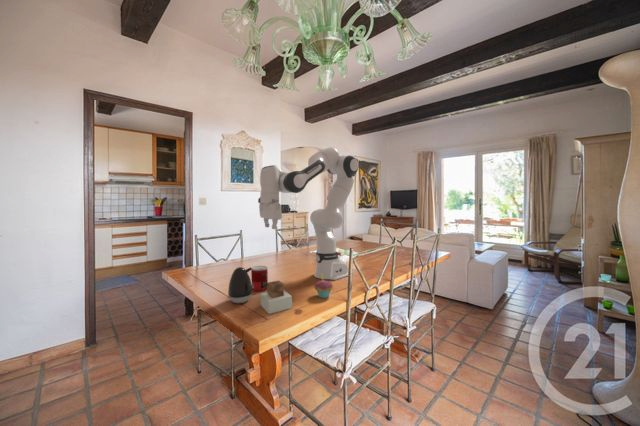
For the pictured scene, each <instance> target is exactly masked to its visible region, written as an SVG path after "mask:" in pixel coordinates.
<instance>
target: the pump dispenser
mask: <svg viewBox="0 0 640 426" xmlns="http://www.w3.org/2000/svg"><path fill="white" fill-rule="evenodd" d="M251 270H252V267H251V266H250V267H249V268H246V269H245V267H242V266H241V267H236V268H235V269H234V270H233V272H232V274H231V276H230V278H229V282H228V290H227V295H228V297H229V299H230V301H231V302H232V303H234V304H243V303H246V302H248V301H249V300H250V299H251V297H252V294H253V290H252V279H251V278H250V275H249V272H250V271H251Z"/></svg>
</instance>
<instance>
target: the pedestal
mask: <svg viewBox="0 0 640 426" xmlns="http://www.w3.org/2000/svg"><path fill="white" fill-rule="evenodd" d="M260 306H261V307H262V308H263V310H265V311H266V313H268V314H269V315H271V314H274V313H278V312H282V311H287V310H290V309H292V308H293V296H292V295H291V294H289V293H288V292H287V291H286V290H284V296H280V297H275V298H272V297H270V296H269V295H268V291H267V292H262V293H261V292H260Z"/></svg>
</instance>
